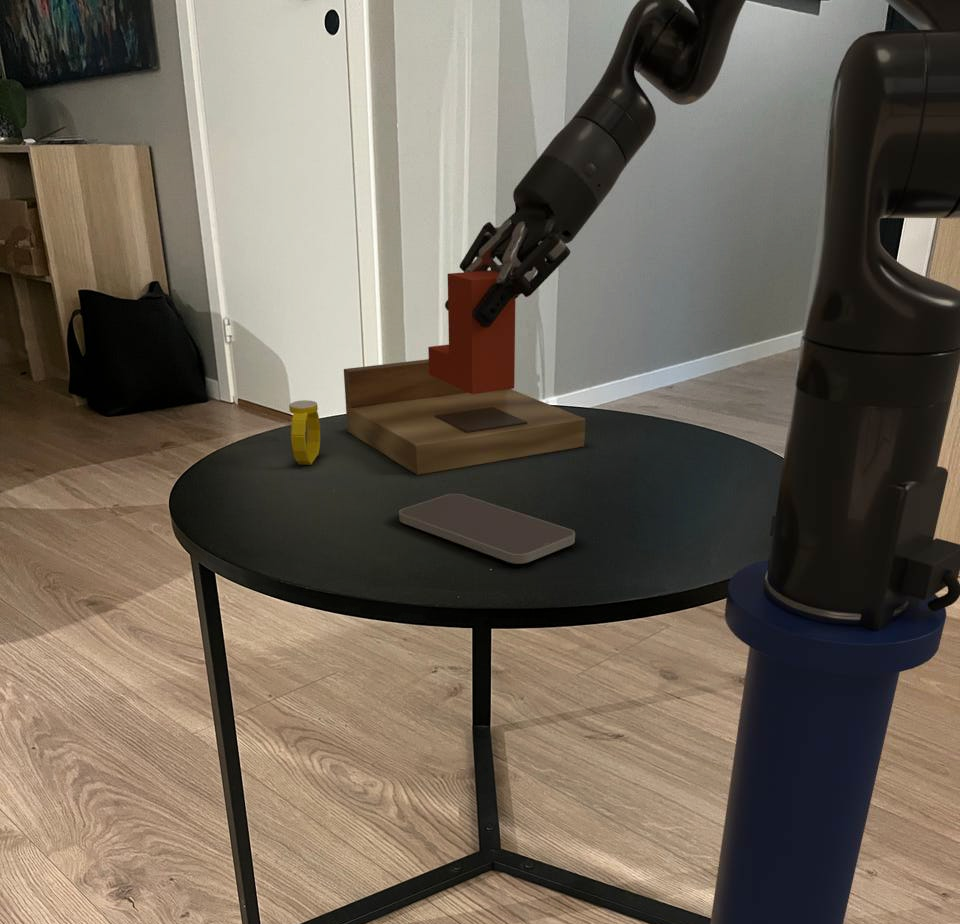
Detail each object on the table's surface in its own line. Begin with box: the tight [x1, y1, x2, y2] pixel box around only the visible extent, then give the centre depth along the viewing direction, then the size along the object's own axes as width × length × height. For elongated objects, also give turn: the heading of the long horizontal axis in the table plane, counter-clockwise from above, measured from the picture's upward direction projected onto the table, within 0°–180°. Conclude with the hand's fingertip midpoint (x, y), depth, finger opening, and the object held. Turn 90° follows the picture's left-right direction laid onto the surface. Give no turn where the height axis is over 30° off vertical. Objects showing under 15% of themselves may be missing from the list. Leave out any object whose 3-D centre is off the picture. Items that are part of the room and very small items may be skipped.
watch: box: [288, 399, 321, 466], centre depth 100 cm, size 6×3×6 cm, turn 174°
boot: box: [427, 269, 516, 394], centre depth 102 cm, size 10×5×11 cm, turn 29°
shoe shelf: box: [343, 358, 586, 476], centre depth 107 cm, size 18×20×7 cm
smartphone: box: [398, 493, 576, 565], centre depth 83 cm, size 7×1×15 cm
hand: (465, 316), depth 98 cm, fingers closed on boot, 5 cm apart
